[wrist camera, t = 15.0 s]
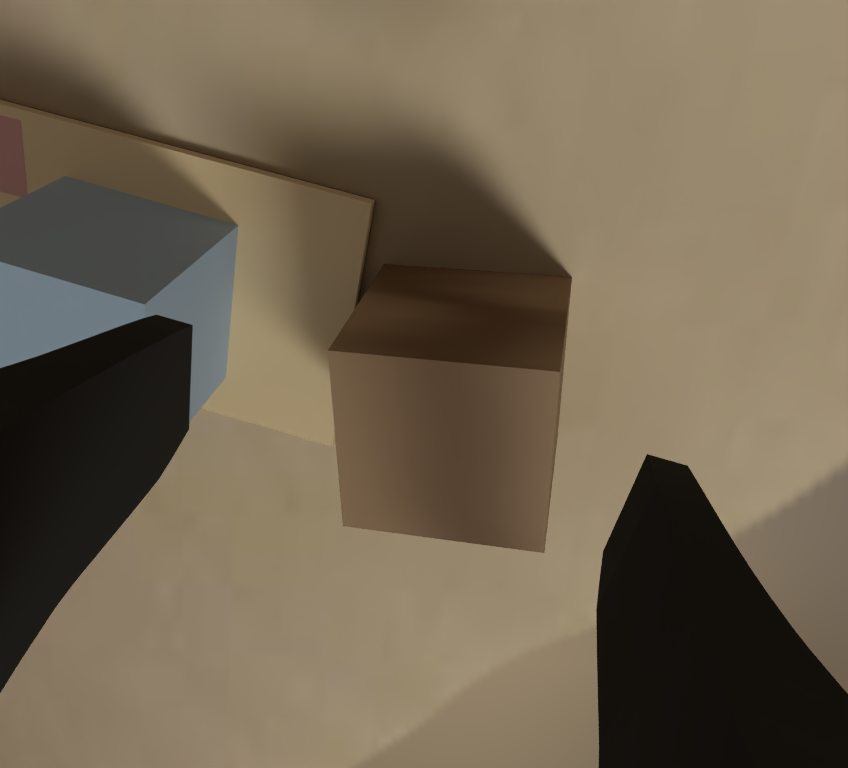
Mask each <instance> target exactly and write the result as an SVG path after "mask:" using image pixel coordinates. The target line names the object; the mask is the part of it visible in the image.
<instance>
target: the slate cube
mask: <svg viewBox="0 0 848 768" xmlns="http://www.w3.org/2000/svg"><path fill="white" fill-rule="evenodd" d="M237 236H238V225H235V224H232V223H228V222H225V221H221V220H218V219H214V218H211V217H207V216H204V215H200V214H197V213H193V212H190V211H186V210H183V209H179V208H176V207H172V206H169V205H165V204H162V203H158V202H155V201H151V200H148V199H145V198H141V197H138V196H134V195H131V194H127V193H124V192H120V191H117V190H113V189H110V188H106V187H103V186H99V185H96V184H92V183H89V182H85V181H82V180H78V179H75V178H71V177H68V176H64V177H62V178H60V179H58V180H56V181H54V182H52V183H50V184H48V185H46V186H44V187H42V188H40V189H38V190H36V191H34V192H32V193H30V194H27V195H25V196H23V197H21V198H19V199H17V200H15V201H13V202H11V203H9V204H7V205H5V206H3V207H1V208H0V368H2V367H5V366H8V365H12V364H15V363H18V362H21V361H24V360H27V359H30V358H34V357H37V356H39V355H42V354H45V353H48V352H51V351H53V350H56V349H59V348H62V347H64V346H67V345H70V344H73V343H75V342H78V341H81V340H84V339H87V338H89V337H92V336H95V335H97V334H100V333H103V332H105V331H108V330H111V329H114V328H116V327H119V326H122V325H125V324H128V323H130V322H133V321H136V320H139V319H142V318H146V317H149V316H153V315H160V316H163V317H167V318H170V319H174V320H177V321H181V322H184V323H188V324H191V325H193V333H192V360H191V387H190V414H189V422H190V421H191V419H192V418H193V417H194V416H195V414H196V413H197V412H198V411H199V410H200V408H201V407H202V406H203V405H204V404H205V402H206V401H207V400H208V399H209V398H210V396H211V395H212V394H213V393H214V392H215V390H216V389H217V388H218V387H219V385H220V384H221V383H222V382H223V381H224V379H225V378H226V372H227V359H228V347H229V335H230V323H231V310H232V298H233V286H234V273H235V261H236V249H237Z"/></svg>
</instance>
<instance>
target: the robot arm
mask: <svg viewBox="0 0 848 768" xmlns="http://www.w3.org/2000/svg"><path fill="white" fill-rule="evenodd" d="M192 333H193V325H191V324H188V323H184V322H181V321H177V320H174V319H170V318H167V317H163V316H160V315H153V316H149V317H146V318H142V319H139V320H136V321H133V322H130V323H128V324H125V325H122V326H119V327H116V328H114V329H111V330H108V331H105V332H103V333H100V334H97V335H95V336H92V337H89V338H87V339H84V340H81V341H78V342H75V343H73V344H70V345H67V346H64V347H62V348H59V349H56V350H53V351H51V352H48V353H45V354H42V355H39V356H37V357H34V358H30V359H27V360H24V361H21V362H18V363H15V364H12V365H8V366H5V367H2V368H0V692H1V691H2V689H3V688H4V686H5V684H6V683H7V681H8V680H9V678H10V676H11V675H12V673H13V672H14V670H15V668H16V667H17V665H18V664H19V662H20V660H21V659H22V657H23V656H24V654H25V653H26V651H27V650H28V648H29V647H30V645H31V644H32V642H33V641H34V639H35V638H36V636H37V635H38V633H39V632H40V630H41V629H42V627H43V625H44V624H45V622H46V621H47V619H48V618H49V616H50V615H51V613H52V612H53V610H54V609H55V607H56V606H57V605H58V603H59V602H60V601H61V599H62V598H63V597H64V595H65V594H66V593H67V591H68V590H69V589H70V587H71V586H72V585H73V583H74V582H75V581H76V580H77V578H78V577H79V576H80V575H81V574H82V572H83V571H84V570H85V569H86V567H87V566H88V565H89V564H90V563H91V561H92V560H93V559H94V558H95V557H96V555H97V554H98V553H99V552H100V551H101V549H102V548H103V547H104V546H105V544H106V543H107V542H108V541H109V540H110V538H111V537H112V536H113V535H114V534H115V532H116V531H117V530H118V529H119V528H120V526H121V525H122V524H123V523H124V521H125V520H126V519H127V518H128V517H129V515H130V514H131V513H132V512H133V510H134V509H135V508H136V507H137V506H138V504H139V503H140V502H141V501H142V499H143V498H144V497H145V496H146V494H147V493H148V492H149V491H150V489H151V488H152V487H153V486H154V484H155V483H156V482H157V481H158V479H159V478H160V476H161V475H162V473H163V472H164V470H165V468H166V467H167V465H168V464H169V462H170V460H171V459H172V457H173V455H174V454H175V452H176V450H177V449H178V447H179V445H180V443H181V442H182V440H183V438H184V437H185V435H186V433H187V431H188V430H189V414H190V387H191V360H192ZM597 667H598V669H597V670H598V713H599V768H848V694H847V693H846V691H845V690H844V689H843V688H842V687H841V686H840V685H839V683H838V682H837V681H836V680H835V679H834V677H833V676H832V675H831V674H830V673H829V672H828V670H827V669H826V668H825V667H824V666H823V665H822V663H821V662H820V661H819V660H818V659H817V657H816V656H815V655H814V654H813V653H812V652H811V650H810V649H809V648H808V647H807V645H806V644H805V643H804V642H803V640H802V639H801V638H800V637H799V635H798V634H797V633H796V632H795V630H794V629H793V628H792V626H791V625H790V623H789V622H788V621H787V619H786V618H785V617H784V615H783V614H782V612H781V611H780V610H779V609H778V607H777V606H776V604H775V603H774V602H773V600H772V599H771V598H770V596H769V595H768V593H767V592H766V590H765V589H764V588H763V586H762V585H761V583H760V582H759V580H758V579H757V577H756V576H755V574H754V573H753V571H752V570H751V568H750V567H749V566H748V564H747V562H746V561H745V559H744V558H743V556H742V554H741V553H740V551H739V550H738V548H737V547H736V545H735V543H734V542H733V540H732V539H731V537H730V535H729V534H728V532H727V530H726V529H725V527H724V526H723V524H722V522H721V521H720V519H719V517H718V516H717V514H716V512H715V511H714V509H713V507H712V506H711V504H710V502H709V500H708V499H707V497H706V495H705V494H704V492H703V490H702V489H701V487H700V485H699V484H698V482H697V480H696V479H695V477H694V475H693V474H692V472H691V470H690V469H689V467H688V466H686V465H683V464H679V463H676V462H672V461H669V460H665V459H662V458H658V457H655V456H651V455H648V454H647V456H646V458H645V460H644V462H643V464H642V467H641V469H640V471H639V473H638V476H637V478H636V480H635V482H634V484H633V487H632V489H631V491H630V493H629V495H628V498H627V500H626V502H625V504H624V507H623V509H622V511H621V513H620V515H619V518H618V520H617V522H616V524H615V526H614V529H613V531H612V533H611V535H610V537H609V540H608V542H607V544H606V546H605V549H604V551H603V558H602V566H601V574H600V582H599V591H598V601H597Z"/></svg>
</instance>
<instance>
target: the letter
mask: <svg viewBox="0 0 848 768" xmlns="http://www.w3.org/2000/svg"><path fill="white" fill-rule="evenodd" d="M64 176H68V177H71V178H75V179H78V180H82V181H85V182H89V183H92V184H96V185H99V186H103V187H106V188H110V189H113V190H117V191H120V192H124V193H127V194H131V195H134V196H138V197H141V198H145V199H148V200H151V201H155V202H158V203H162V204H165V205H169V206H172V207H176V208H179V209H183V210H186V211H190V212H193V213H197V214H200V215H204V216H207V217H211V218H214V219H218V220H221V221H225V222H228V223H232V224H235V225H238V236H237V249H236V261H235V273H234V286H233V298H232V310H231V323H230V335H229V347H228V359H227V372H226V378H225V379H224V381H223V382H222V383H221V384H220V385H219V387H218V388H217V389H216V390H215V392H214V393H213V394H212V395H211V396H210V398H209V399H208V400H207V401H206V402H205V404H204V405H203V406H202V407H201V409H204V410H208V411H211V412H214V413H218V414H221V415H225V416H228V417H231V418H235V419H238V420H242V421H245V422H249V423H252V424H255V425H259V426H262V427H266V428H269V429H273V430H276V431H279V432H283V433H286V434H290V435H293V436H296V437H300V438H303V439H307V440H310V441H314V442H317V443H320V444H324V445H327V446H331V447H332V445H333V443H334V441H335V428H334V417H333V406H332V394H331V383H330V372H329V360H328V349H329V348H330V346H331V345H332V343H333V342H334V340H335V339H336V337H337V335H338V334H339V332H340V331H341V329H342V328H343V326H344V325H345V323H346V322H347V320H348V319H349V317H350V316H351V314H352V312H353V311H354V309H355V308H356V306H357V304H358V298H359V292H360V286H361V280H362V274H363V268H364V262H365V256H366V250H367V244H368V238H369V232H370V227H371V221H372V215H373V209H374V203H375V200H373V199H369V198H365V197H361V196H358V195H354V194H350V193H346V192H343V191H339V190H335V189H332V188H328V187H324V186H320V185H317V184H313V183H309V182H305V181H302V180H298V179H294V178H290V177H287V176H283V175H279V174H276V173H272V172H268V171H264V170H261V169H257V168H253V167H249V166H246V165H242V164H238V163H235V162H231V161H227V160H223V159H220V158H216V157H212V156H208V155H205V154H201V153H197V152H194V151H190V150H186V149H182V148H179V147H175V146H171V145H167V144H164V143H160V142H156V141H153V140H149V139H145V138H141V137H138V136H134V135H130V134H126V133H123V132H119V131H115V130H112V129H108V128H104V127H100V126H97V125H93V124H89V123H85V122H82V121H78V120H74V119H71V118H67V117H63V116H59V115H56V114H52V113H48V112H44V111H41V110H37V109H33V108H30V107H26V106H22V105H18V104H15V103H11V102H7V101H3V100H0V208H1V207H3V206H5V205H7V204H9V203H11V202H13V201H15V200H17V199H19V198H21V197H23V196H25V195H27V194H30V193H32V192H34V191H36V190H38V189H40V188H42V187H44V186H46V185H48V184H50V183H52V182H54V181H56V180H58V179H60V178H62V177H64Z"/></svg>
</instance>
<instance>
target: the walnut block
mask: <svg viewBox="0 0 848 768" xmlns="http://www.w3.org/2000/svg"><path fill="white" fill-rule="evenodd" d="M571 282H572V277H562V276H547V275H533V274H519V273H504V272H490V271H475V270H461V269H446V268H432V267H418V266H403V265H389V264H384V265H383V266H382V268H381V270H380V271H379V273H378V274H377V276H376V277H375V279H374V280H373V282H372V283H371V285H370V286H369V288H368V289H367V291H366V293H365V294H364V296H363V297H362V299H361V300H360V302H359V303H358V305H357V306H356V308H355V309H354V311H353V312H352V314H351V316H350V317H349V319H348V320H347V322H346V323H345V325H344V326H343V328H342V329H341V331H340V332H339V334H338V335H337V337H336V339H335V340H334V342H333V343H332V345H331V346H330V348H329V349H328V360H329V372H330V383H331V394H332V406H333V417H334V428H335V440H336V451H337V463H338V474H339V485H340V497H341V508H342V519H343V526H347V527H355V528H362V529H370V530H377V531H385V532H392V533H400V534H407V535H414V536H422V537H429V538H437V539H444V540H452V541H459V542H467V543H474V544H482V545H489V546H497V547H504V548H512V549H519V550H526V551H534V552H541V553H544V550H545V542H546V533H547V524H548V515H549V506H550V498H551V489H552V480H553V471H554V463H555V454H556V445H557V436H558V425H559V414H560V403H561V392H562V381H563V370H564V359H565V348H566V337H567V326H568V315H569V304H570V293H571Z"/></svg>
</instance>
